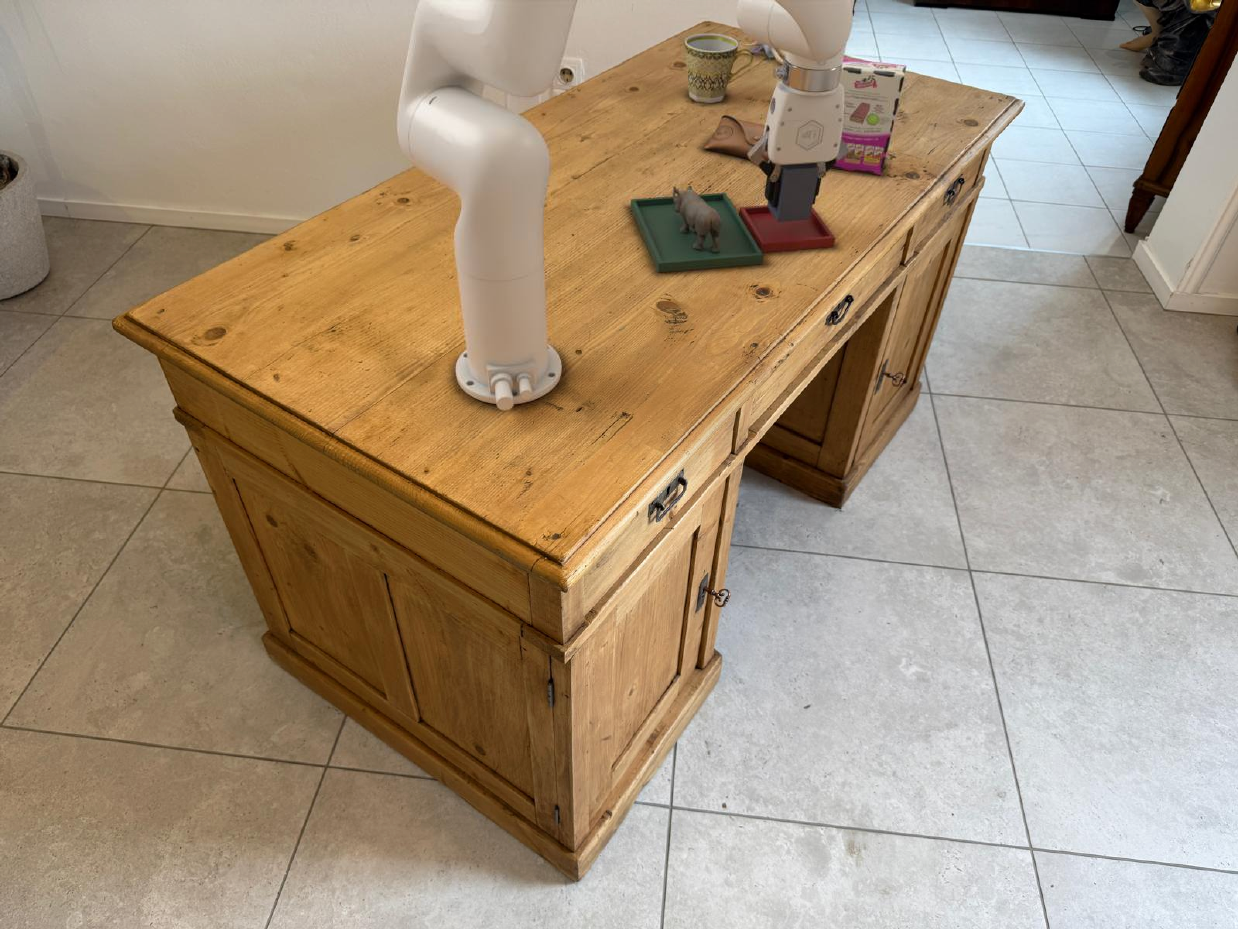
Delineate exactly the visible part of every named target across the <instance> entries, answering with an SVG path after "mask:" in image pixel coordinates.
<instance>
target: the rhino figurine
mask: <svg viewBox="0 0 1238 929" xmlns="http://www.w3.org/2000/svg"><path fill="white" fill-rule="evenodd" d="M672 188H673V190H672V191H673V192H672V196H673V200H674V208H673V209H674V211H675V212H677V213H680V215H681V219H682V221H683V224H684V225H683V227H682V228H681V229H680V232H682V233H688V232H689V226H690V227H692V228H694V229H695V231H696V232H697V234H698V239H697V242H696V243H694V245H693V248H694V249H698V250H701V249H703V243H704V242H705V238H706V235H707V234H708V232H709V231H710V233H711V236H712V241H713V245H712V246H711V248H710V250H711V251H713V252H715V253H716V252H719V251H720V247H719V233H720V230H721V225H722V223H721V218H720V215H719V213H718V212H717V211H716V210H715V209H713V208H712V207H710V206H709V205H708V204H707V203H706V202H705V201H704V200H703V199H702V198H701V197H700V196H699V195H698V193H697V192H696V191H695V190H694V189H693V187H692V185H688V186H687V187H686V190H680V189H678V188H676V186H673V187H672ZM676 196H677V197H676Z"/></svg>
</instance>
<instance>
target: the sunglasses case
mask: <svg viewBox="0 0 1238 929" xmlns="http://www.w3.org/2000/svg"><path fill="white" fill-rule="evenodd" d="M764 128H765V124H763V123H756V122H752V121H748V120H742V119H739V118H736V117H734V116H731V115H727V114H724V115H721V120H719V123H718V125H717V127H716V128H715V130H714V132H713V134H712V136H711V138H710V140H709V142H708V143H707V144H706V145H704V147H703V148H704V149H705V150H709V151H713V152H714V151H715V152H720V153H724V154H727V155H731V156H733V157H739V158H742V159H746V160H749V161H751V160H750V159H749V158H748V156H747V154H748V152H749V151H750V150H751V149H752V148H753V147H754V145H755V144H756V143H757V142H758V141H759V140H760V139H761V138H762V136H763V134H764ZM762 158H764V159H765V160H766V161H767V162H768V160H769V156H768V152H766V151H765V152H764V153H763V154H762Z"/></svg>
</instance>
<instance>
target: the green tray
mask: <svg viewBox="0 0 1238 929" xmlns="http://www.w3.org/2000/svg"><path fill="white" fill-rule="evenodd" d="M697 194H698V193H697ZM698 195H699V196H700V197H701V198H702V199H703V200H704V201H705V202H706V203H707V204H708V205H709V206H710V207H712V208H713V209H715V210H716V211H717V212H718V213H719V215H720V218H721V223H722V225H721V230H720V233H719V247H720V251H719V252H716V253H715V252H713V251H711V250H710V248H711V246H712V245H713V241H712V236H711V233H710V231H709V232H708V234H707V235H706V238H705V242H704V243H703V249H701V250H698V249H694V248H693V245H694V243H696V242H697V239H698V234H697V232H696V231H695V229H694V228H692V227H690V226H689V232H688V233H682V232H680V229H681V228H682V227H683V225H684V224H683V221H682V219H681V215H680V213H677V212H675V211H674V209H673V208H674V200H673V195H672V196H670V195H669V196H658V197H643V198H642V197H641V198H632V199H631V198H630V210H631V212H632V214H633V217H634V219H635V221H636V224H637V226H638V227H639V230H640V233H641V235H642V237H643V240H644V243H645V244H646V247H647V249H648V252H649V254H650V256H651V259H652V261H653V263H654V266H655V268H656V270H657V273H671V272H682V271H683V272H684V271H692V270H693V271H694V270H705V269H718V268H729V267H743V266H752V265H762V264H763V258H764V253H762V252H761V250H760V249H759V247H758V245H757V244H756V242H755V240H754V239H753V237H752V236H751V234H750V232H749V231H748V229H747V227H746V226H745V224H744V222H743V221H742V219H741V217H740V216H739V211H737V209H736V207H735V206H734V204H733V202H732V201H731V199H730V198H729V196H728V194H727V192H714V193H700V194H698ZM675 196H676V197H677V195H675Z"/></svg>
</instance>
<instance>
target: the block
mask: <svg viewBox="0 0 1238 929" xmlns="http://www.w3.org/2000/svg"><path fill="white" fill-rule="evenodd" d="M818 172H819V167H818V166H817V164H816V163H804V164H789V165H784V167H783V169H782V171H781V174H780V176H779V180H780V182H781V187H780V193H779V200H778V206H777V207H772V206H771V205H770V203H769V202H768V201H767V204H766V205H767V207H768V208H769V210H770V211H771V213H772V214H773V216H774V217H775V219H776V220H777V222H785V221H798V220H810V215H811V210H812V207H813V205H814V204H813V199H814V194H815V189H816V183H817V178H818Z"/></svg>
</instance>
